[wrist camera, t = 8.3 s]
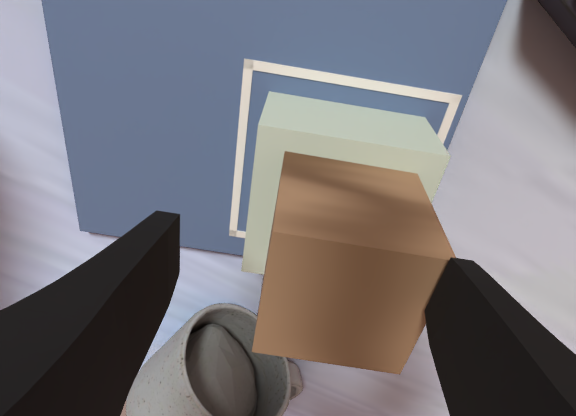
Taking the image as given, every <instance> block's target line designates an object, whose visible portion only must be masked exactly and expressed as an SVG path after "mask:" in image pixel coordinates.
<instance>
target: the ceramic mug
mask: <svg viewBox="0 0 576 416" xmlns="http://www.w3.org/2000/svg"><path fill="white" fill-rule="evenodd" d="M256 322H257V315H255V314H254V313H253V312H251V311H249V310H247V309H245V308H243V307H241V306H238V305H234V304H227V303H219V304H214V305H210V306H208V307H206V308H204V309H202V310H200V311H199V312H197V313H196V314H194V315H193V316H192V317H191V318H190V319H189V320H188V321H187V322H186V323H185V324H184V325H183V326H182V327H181V328H180V329H179V330H178V331H177V332H176V333H175V334H174V335H173V336H172V337H171V338H170V339H169V340H168V341H167V342H166V343H165V344H164V345H163V346H162V347H161V348H160V349H159V350H158V351H157V352H156V353H155V354H154V355H153V356H152V357H151V358H150V359H149V360H148V361H147V362H146V363H145V364H144V365H143V366H142V368H141V369H140V371H139V372H138V374H137V376H136V378H135V380H134V382H133V384H132V387H131V389H130V391H129V394H128V397H127V403H126V416H282V415H283V414H284V412H285V410H286V409H287V406H288V404H289V400H291V399H293V398H294V397H296V396H297V395H298V394H300V393H301V391H302V389H303V385H302V380H301V376H300V372H299V369H298V367H297V365H296V364H294V363H292V362H288V360H287V357H281V356H275V355H268V354H262V353H255V352H252V347H253V341H254V335H255V328H256Z"/></svg>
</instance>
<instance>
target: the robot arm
mask: <svg viewBox="0 0 576 416" xmlns="http://www.w3.org/2000/svg"><path fill="white" fill-rule="evenodd" d="M179 270H180V214H176V213H170V212H164V211H158V210H157V211H155V212H154V213H152V214H151V215H149V216H148V217H147V218H145V219H144V220H143V221H141V222H140V223H139V224H137V225H136V226H135V227H133V228H132V229H131V230H130V231H128V232H127V233H126V234H124V235H123V236H122V237H120V238H119V239H117V240H116V241H115V242H113V243H112V244H110V245H109V246H108V247H106V248H105V249H103V250H102V251H101V252H99V253H98V254H96V255H95V256H94V257H92V258H91V259H89V260H88V261H86V262H85V263H83V264H81V265H80V266H78V267H77V268H75V269H74V270H72V271H71V272H69V273H68V274H66V275H64V276H63V277H61V278H60V279H58V280H56V281H55V282H53V283H51V284H50V285H48V286H46V287H44V288H43V289H41V290H39V291H37V292H35V293H33V294H32V295H30V296H28V297H26V298H24V299H22V300H20V301H18V302H17V303H15V304H13V305H11V306H9V307H7V308H5V309H3V310H0V416H120V415H121V412H122V409H123V406H124V404H125V401H126V399H127V396H128V394H129V391H130V389H131V387H132V384H133V382H134V380H135V378H136V376H137V374H138V371H139V369H140V367H141V365H142V363H143V361H144V359H145V356H146V354H147V352H148V350H149V348H150V346H151V344H152V342H153V339H154V337H155V335H156V333H157V331H158V329H159V326H160V324H161V322H162V320H163V318H164V316H165V313H166V311H167V309H168V307H169V304H170V301H171V298H172V295H173V292H174V289H175V286H176V282H177V279H178V276H179ZM424 312H425V319H426V327H427V333H428V339H429V345H430V349H431V353H432V356H433V360H434V363H435V367H436V370H437V374H438V377H439V380H440V384H441V387H442V390H443V394H444V397H445V400H446V404H447V407H448V410H449V414H450V416H576V354H574V353H573V352H572V351H571V350H570V349H569V348H567V347H566V346H565V345H564V344H563V343H562V342H560V341H559V340H558V339H557V338H556V337H555V336H554V335H553V334H551V333H550V332H549V331H548V330H547V329H546V328H545V327H544V326H543V325H542V324H540V323H539V322H538V321H537V320H536V319H535V318H534V317H533V316H532V315H531V314H530V313H529V312H528V311H527V310H526V309H524V308H523V307H522V306H521V305H520V304H519V303H518V302H517V301H516V300H515V299H514V298H513V297H512V296H511V295H510V294H509V293H508V292H507V291H506V290H505V289H504V288H503V287H502V286H500V285H499V284H498V283H497V282H496V281H495V280H494V279H493V278H492V277H491V276H490V275H489V274H488V273H487V272H486V271H484V270H483V269H482V268H481V267H480V266H479V265H478V264H476V263H475V262H474V261H472V260H465V259H459V258H453V257H451V258H450V260H449V262H448V264H447V266H446V268H445V270H444V272H443V274H442V276H441V278H440V280H439V282H438V284H437V286H436V288H435V290H434V292H433V294H432V296H431V298H430V300H429V302H428V304H427V306H426V308H425V310H424Z"/></svg>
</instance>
